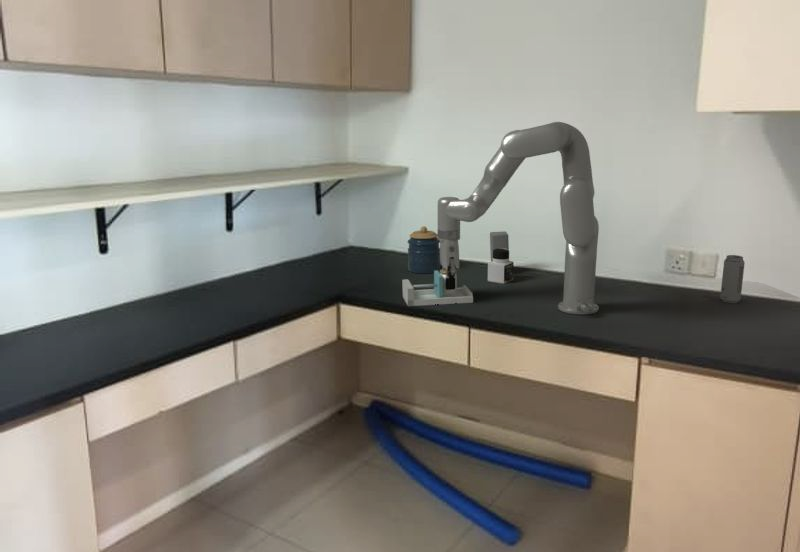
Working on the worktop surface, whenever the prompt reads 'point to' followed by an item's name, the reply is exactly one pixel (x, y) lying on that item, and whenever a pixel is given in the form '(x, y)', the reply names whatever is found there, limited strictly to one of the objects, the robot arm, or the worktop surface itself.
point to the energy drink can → (732, 279)
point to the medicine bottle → (500, 267)
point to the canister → (423, 252)
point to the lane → (434, 296)
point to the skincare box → (498, 241)
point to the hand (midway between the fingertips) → (448, 286)
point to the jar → (443, 273)
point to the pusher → (435, 284)
